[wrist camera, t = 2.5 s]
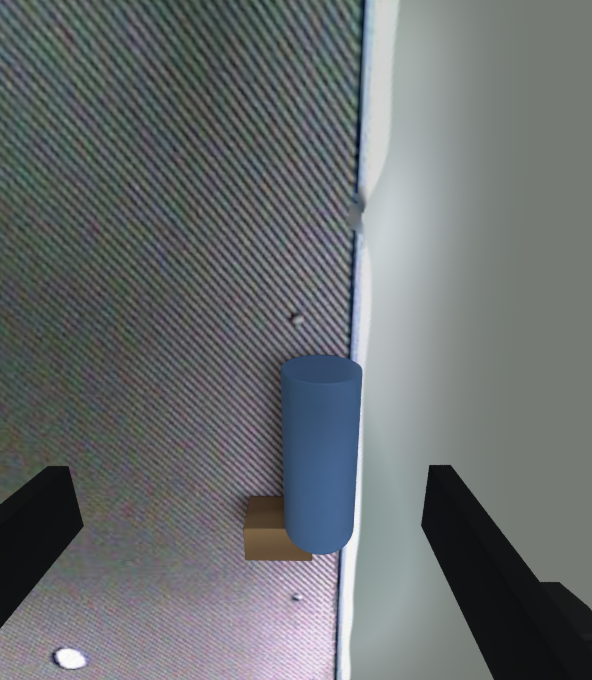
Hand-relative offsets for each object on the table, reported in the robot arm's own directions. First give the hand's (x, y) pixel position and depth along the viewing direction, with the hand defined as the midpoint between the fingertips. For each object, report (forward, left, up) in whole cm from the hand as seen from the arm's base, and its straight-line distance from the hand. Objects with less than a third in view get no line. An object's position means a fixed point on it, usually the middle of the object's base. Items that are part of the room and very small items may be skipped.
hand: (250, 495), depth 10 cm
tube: (-2, +3, -9) cm, 10 cm away
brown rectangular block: (-4, +11, -10) cm, 16 cm away
